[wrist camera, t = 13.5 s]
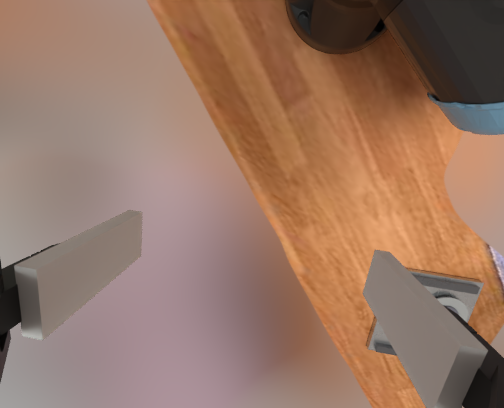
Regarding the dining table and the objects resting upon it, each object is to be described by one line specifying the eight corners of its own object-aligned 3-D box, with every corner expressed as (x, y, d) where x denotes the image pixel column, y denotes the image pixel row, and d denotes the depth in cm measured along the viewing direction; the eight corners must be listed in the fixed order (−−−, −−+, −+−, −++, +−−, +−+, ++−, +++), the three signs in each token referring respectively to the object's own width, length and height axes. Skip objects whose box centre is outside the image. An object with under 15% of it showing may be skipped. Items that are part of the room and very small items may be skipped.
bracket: (471, 316, 41) (488, 331, 38) (415, 344, 44) (426, 361, 40) (450, 287, 40) (466, 300, 37) (394, 318, 43) (403, 333, 39)
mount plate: (390, 265, 42) (395, 270, 40) (479, 279, 41) (488, 286, 39) (366, 344, 46) (369, 353, 44) (446, 359, 45) (452, 368, 43)
